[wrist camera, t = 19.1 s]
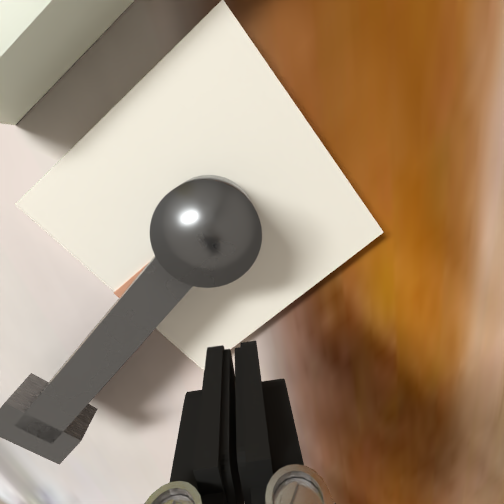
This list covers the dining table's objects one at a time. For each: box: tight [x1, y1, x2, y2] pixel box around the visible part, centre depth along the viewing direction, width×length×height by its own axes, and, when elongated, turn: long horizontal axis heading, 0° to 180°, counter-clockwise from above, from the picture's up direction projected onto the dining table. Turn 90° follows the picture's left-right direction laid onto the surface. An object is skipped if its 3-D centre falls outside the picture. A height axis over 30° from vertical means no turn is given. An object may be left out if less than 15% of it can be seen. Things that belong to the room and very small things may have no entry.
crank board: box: [15, 0, 383, 370], centre depth 15 cm, size 13×13×1 cm
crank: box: [0, 175, 262, 464], centre depth 14 cm, size 17×4×3 cm, turn 138°
